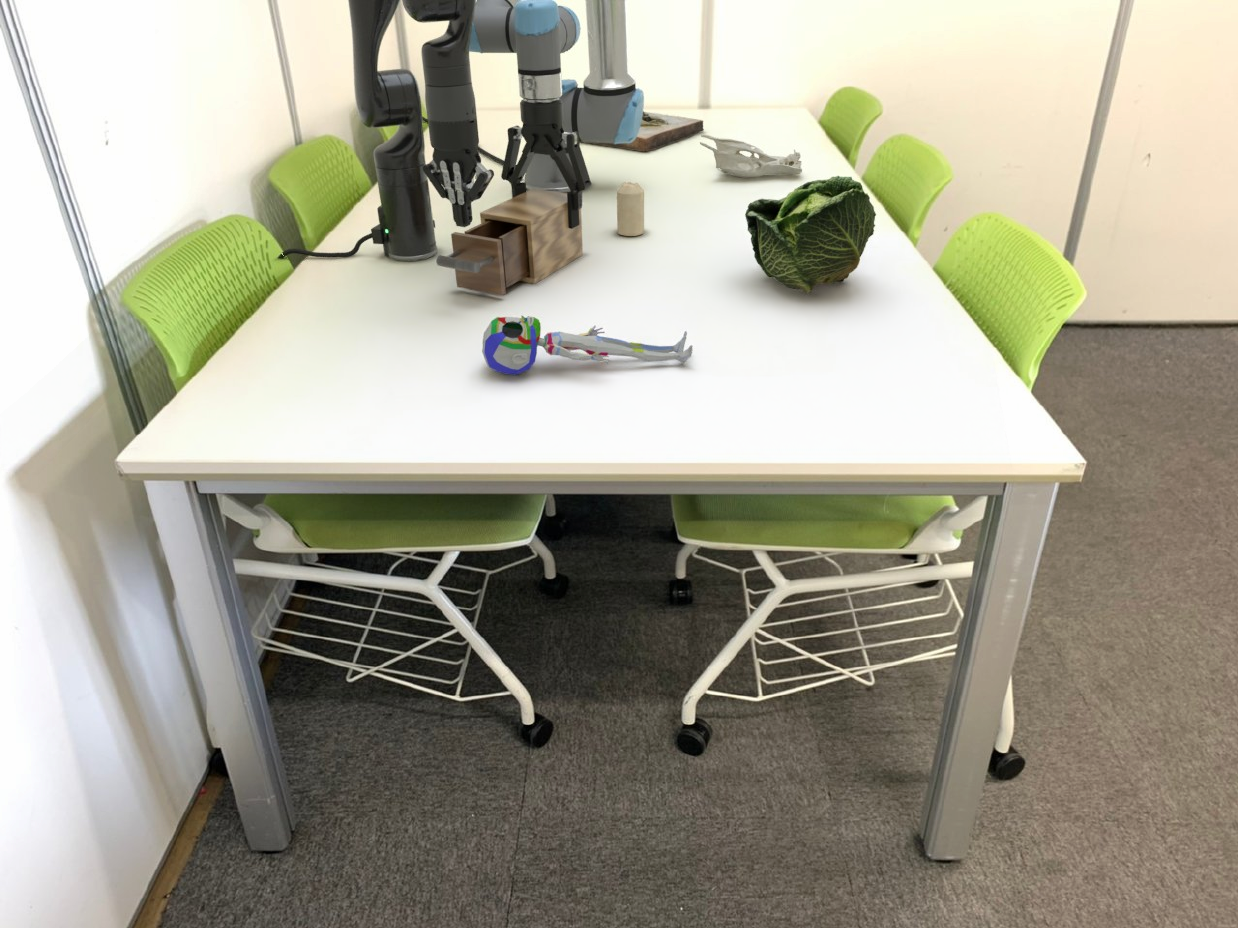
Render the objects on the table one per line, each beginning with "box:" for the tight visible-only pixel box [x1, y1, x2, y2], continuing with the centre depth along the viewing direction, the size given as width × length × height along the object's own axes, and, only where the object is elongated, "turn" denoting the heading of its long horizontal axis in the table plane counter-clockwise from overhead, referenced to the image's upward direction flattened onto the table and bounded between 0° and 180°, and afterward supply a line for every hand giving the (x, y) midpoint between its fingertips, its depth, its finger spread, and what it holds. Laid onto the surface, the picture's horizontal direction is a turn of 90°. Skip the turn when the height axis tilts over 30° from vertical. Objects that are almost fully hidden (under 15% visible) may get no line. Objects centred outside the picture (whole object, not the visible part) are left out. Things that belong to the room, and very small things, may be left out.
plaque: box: [584, 110, 705, 152], centre depth 257 cm, size 30×7×30 cm
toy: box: [481, 315, 694, 376], centre depth 131 cm, size 10×8×30 cm
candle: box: [616, 181, 645, 237], centre depth 181 cm, size 6×6×10 cm
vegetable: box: [744, 175, 877, 294], centre depth 154 cm, size 20×19×20 cm
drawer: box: [436, 219, 530, 297], centre depth 157 cm, size 22×10×10 cm, turn 152°
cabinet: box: [479, 189, 584, 285], centre depth 166 cm, size 17×11×11 cm, turn 152°
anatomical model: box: [699, 133, 803, 178], centre depth 218 cm, size 15×9×25 cm
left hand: (463, 225), depth 147 cm, fingers closed
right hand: (547, 222), depth 169 cm, fingers closed on cabinet, 11 cm apart
